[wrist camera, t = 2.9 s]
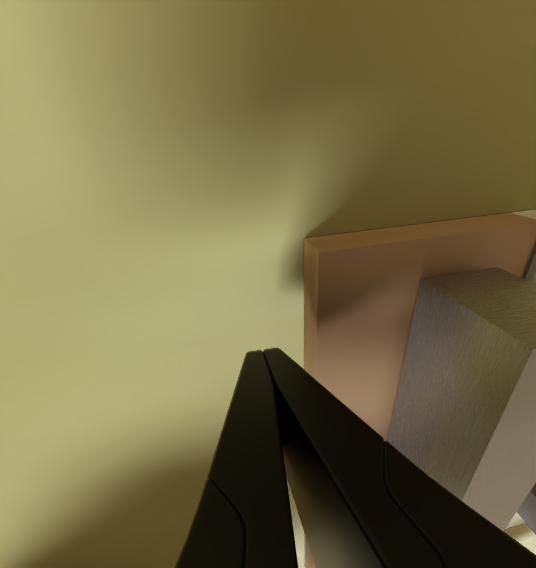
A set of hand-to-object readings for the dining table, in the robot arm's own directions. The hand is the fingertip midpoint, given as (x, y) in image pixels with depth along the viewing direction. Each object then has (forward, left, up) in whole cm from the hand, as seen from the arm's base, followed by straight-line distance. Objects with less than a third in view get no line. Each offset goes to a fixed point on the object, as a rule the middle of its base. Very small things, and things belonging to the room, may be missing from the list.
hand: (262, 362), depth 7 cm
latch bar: (-5, -6, 0) cm, 8 cm away
